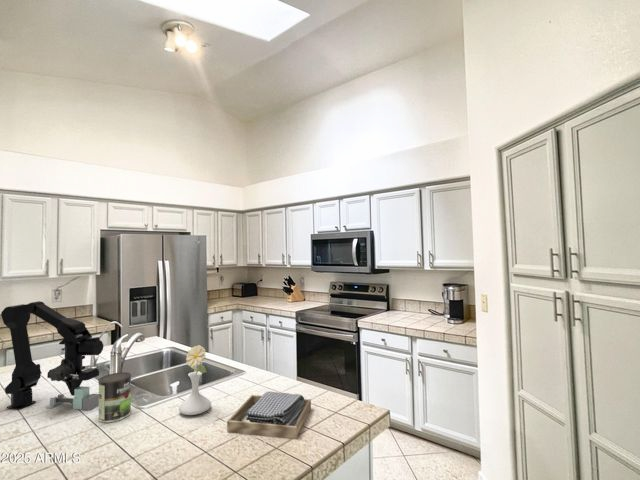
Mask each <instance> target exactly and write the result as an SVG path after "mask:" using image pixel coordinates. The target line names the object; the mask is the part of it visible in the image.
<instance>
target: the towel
mask: <svg viewBox="0 0 640 480" xmlns="http://www.w3.org/2000/svg"><path fill="white" fill-rule="evenodd" d="M260 396H261V397H260V399H259V400H258V401H257V402H256V403H255V404H254V405H253V406H252V407H251V408H250V409H249V410H248V411H247V413H246V415H247V417H246V419H245V420H246V421H248V422H255V423H266V424H276V425H287V426H295V424H296V422H297V420H298V419H299V417H300V415H301V413H302V411H303V409H304V404H303V402H304V399H305V397H304V396H303V395H302V394H296V393H287V392H277V391H266V392H264V393H263V394H262V395H260Z"/></svg>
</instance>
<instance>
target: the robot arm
mask: <svg viewBox="0 0 640 480" xmlns="http://www.w3.org/2000/svg"><path fill="white" fill-rule="evenodd" d="M32 314H33V315H34V316H36V317H38V318H39V319H41V320H42V321H44V322H45V323H47V324H48V325H51V326H53V327H54V328H55V330H56V331H57V334H59V335H60V336H61V337H62V338H63V339H62V340H61V341H60V342H58V344H59V345H64V358H63V359H61V361H60V364H59V365H58V366H56V367H54V368H52V369H49V370H48V371H47V373H46V374H47V375H46V376H47V379H50V381H52V382H53V381H54V382H63V383H65V385H66V386H67V389H68V391H69V394H70V396H73V397H74V389H76V388H78V387H80V386H81V384H82V383H83V382H84V381H89V380H92V379H94V378H96V377H98V376H100V369H98V368H95V367H89V368H87V369H86V366H85V365H83V359H86V356H99V355H101V353H102V352H103V350H104V342H103V341H102V340H101V339H100V336H96V337H93V335H92V334H91V333H90V331H89V330H88V329H87V327H86V324H85V323H84V322H83V321H80V320H78V319H73V318H70V317H66V316H65V315H63V314H62V313H60V312H58V311H57V310H55V309H53V308H51V307H50V306H48V305H47V304H45V302H44V301H34V302H33V301H32V302H28V303H26V304H24V303H23V304H17V305H11V306H6V307H4V308H3V310H2V311H1V313H0V315H1V318H2V322H3V325H5V326H6V327H7V328H8V329H9V330H10V331H9V332H10V337H11V344H12V350H13V351H12V352H13V356H14V363H15V366H14V368H13V371H12V372H11V381H10V383H8V384H7V386H6V387H5V388H4V392H5V395H10V404H9V405H8V406H6V409H9V410H12V409H13V410H21V409H23V408H26V407H28V406H31V405H32V404H35V403H37V401H36V400H33V387H36V386H37V385H38V383H39V380H40V379H41V375H42V369H41V364H40V363H37V364H36V362H34V361H33V358H32V352H31V345H30V344H31V343H30V339H29V333H28V332H29V331H28V324H29V322H30V319H31V315H32ZM84 369H85V370H84Z"/></svg>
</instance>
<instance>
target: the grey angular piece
mask: <svg viewBox="0 0 640 480" xmlns="http://www.w3.org/2000/svg"><path fill="white" fill-rule="evenodd" d="M64 396H65V394H62V393H60V394H57V396H55V397H51V398H49V405H47V406H46V407H45V409H46V410H47V409H50V410H52V409H53V408H55V407H57V405H58V406H60V405H62V404H64V403H69V404H73V398H70V397H64ZM97 407H99V393H90V395H89V396H87V397H85V398H83V409H82V411H91V410H93V409H95V408H97Z"/></svg>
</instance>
